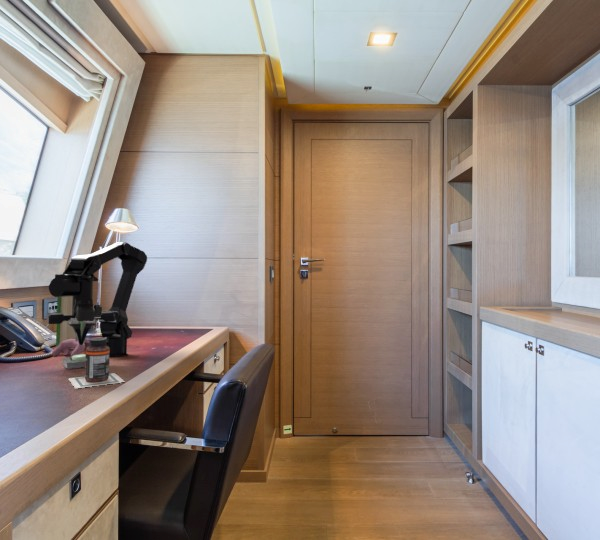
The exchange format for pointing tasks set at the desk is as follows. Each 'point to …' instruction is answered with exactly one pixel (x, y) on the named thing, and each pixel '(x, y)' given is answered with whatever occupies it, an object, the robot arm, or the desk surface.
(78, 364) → the button housing
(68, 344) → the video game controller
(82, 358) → the button
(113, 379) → the paper sheet
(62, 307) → the hardback book
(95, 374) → the supplement bottle
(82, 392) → the desk surface
